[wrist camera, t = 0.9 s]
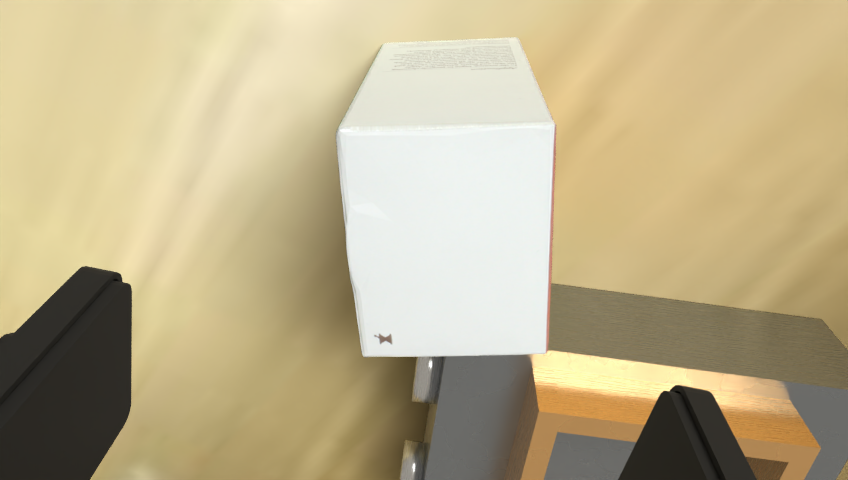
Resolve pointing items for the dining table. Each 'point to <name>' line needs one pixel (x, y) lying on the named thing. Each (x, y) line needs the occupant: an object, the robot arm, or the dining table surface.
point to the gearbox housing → (634, 392)
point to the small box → (449, 201)
